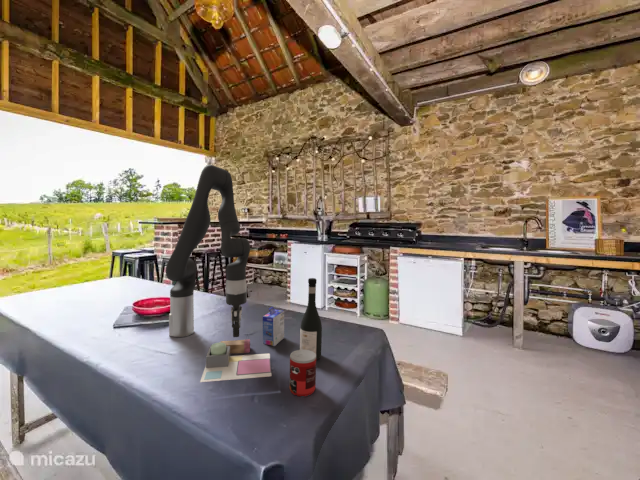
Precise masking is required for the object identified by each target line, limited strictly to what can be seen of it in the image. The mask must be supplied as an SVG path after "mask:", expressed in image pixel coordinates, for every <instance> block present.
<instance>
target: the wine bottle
mask: <svg viewBox="0 0 640 480" xmlns="http://www.w3.org/2000/svg"><path fill="white" fill-rule="evenodd" d="M307 283H308V294H307V295H308V296H307V297H308V301H307V305H306V306H307V307H306V310H305V312H304V314H303V316H302V319H301V322H300V327H299V328H300V332H299V333H300V334H299V335H300V336H299V350H310V351H312V352H314V353H315V354H316V361H318V360H320V358H321V357H322V344H323V343H322V339H323V335H322V334H323V326H322V325H323V324H322V321H321V317H320V315H319V311H318V308H317V304H316V299H317V297H316V293H317V291H316V289H317V279H316V278H314V277H309V278H308V279H307Z"/></svg>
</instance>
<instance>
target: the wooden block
mask: <svg viewBox="0 0 640 480" xmlns="http://www.w3.org/2000/svg"><path fill="white" fill-rule="evenodd" d="M220 342H222V343H225V344H226V346H230V355H232V354H234V355H235V354H247V353H248V354H249V353H250V352H251V339H250V338H248V339H239V340H237V339H236V340H234V339H233V340H220Z"/></svg>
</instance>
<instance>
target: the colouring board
mask: <svg viewBox="0 0 640 480" xmlns="http://www.w3.org/2000/svg"><path fill="white" fill-rule="evenodd" d="M271 363H272V362H271V353H257V354H244V355H242V354H241V355H230V360H229V365H228V367H215V368H206V365H205V366H204V370H203V372H202V375H201V378H200V381H199V383H206V382H207V383H208V382H210V383H211V382H219V381H220V382H221V381H229V380H230V381H232V380H242V379H243V380H244V379H254V378H255V379H256V378H265V377H267V378H269V377H272V364H271Z"/></svg>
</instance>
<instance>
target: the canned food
mask: <svg viewBox="0 0 640 480" xmlns="http://www.w3.org/2000/svg"><path fill="white" fill-rule="evenodd" d="M316 379H317V360H316V354H315V353H314V352H312V351H310V350H300V349H297V350H293V351H292V352H291V353H290V355H289V390H290V393H291V394H292V395H294V396H296V395H297V397H301V396H304V397H309V396H311V395H312V394H313V393H315V390H316V385H317V384H316ZM308 395H309V396H308Z"/></svg>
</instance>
